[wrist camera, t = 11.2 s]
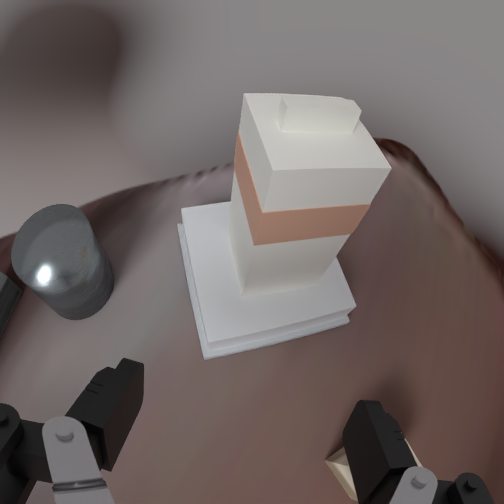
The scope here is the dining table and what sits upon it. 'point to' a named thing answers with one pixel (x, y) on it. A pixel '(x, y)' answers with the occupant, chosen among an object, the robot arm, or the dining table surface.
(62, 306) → the tin
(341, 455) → the block
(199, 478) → the dining table surface
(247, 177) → the carton
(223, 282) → the podium
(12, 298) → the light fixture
